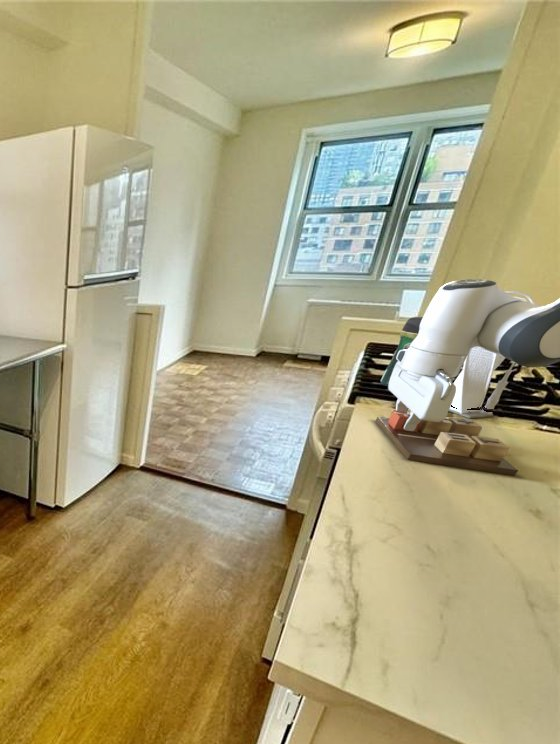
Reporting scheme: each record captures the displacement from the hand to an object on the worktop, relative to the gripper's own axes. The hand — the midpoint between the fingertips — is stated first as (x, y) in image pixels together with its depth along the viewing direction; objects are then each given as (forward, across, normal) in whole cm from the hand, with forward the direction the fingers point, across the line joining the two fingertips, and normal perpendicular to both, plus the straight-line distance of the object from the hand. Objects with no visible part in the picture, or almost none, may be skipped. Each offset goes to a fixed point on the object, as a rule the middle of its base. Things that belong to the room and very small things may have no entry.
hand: (402, 424), depth 105 cm
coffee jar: (+2, +36, -11) cm, 38 cm away
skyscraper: (+2, +21, -18) cm, 28 cm away
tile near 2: (+1, 0, -5) cm, 5 cm away
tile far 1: (+1, -10, -10) cm, 14 cm away
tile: (+1, -10, -5) cm, 11 cm away
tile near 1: (0, 0, -10) cm, 10 cm away
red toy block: (+1, 0, 0) cm, 1 cm away
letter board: (+2, -5, -5) cm, 7 cm away
